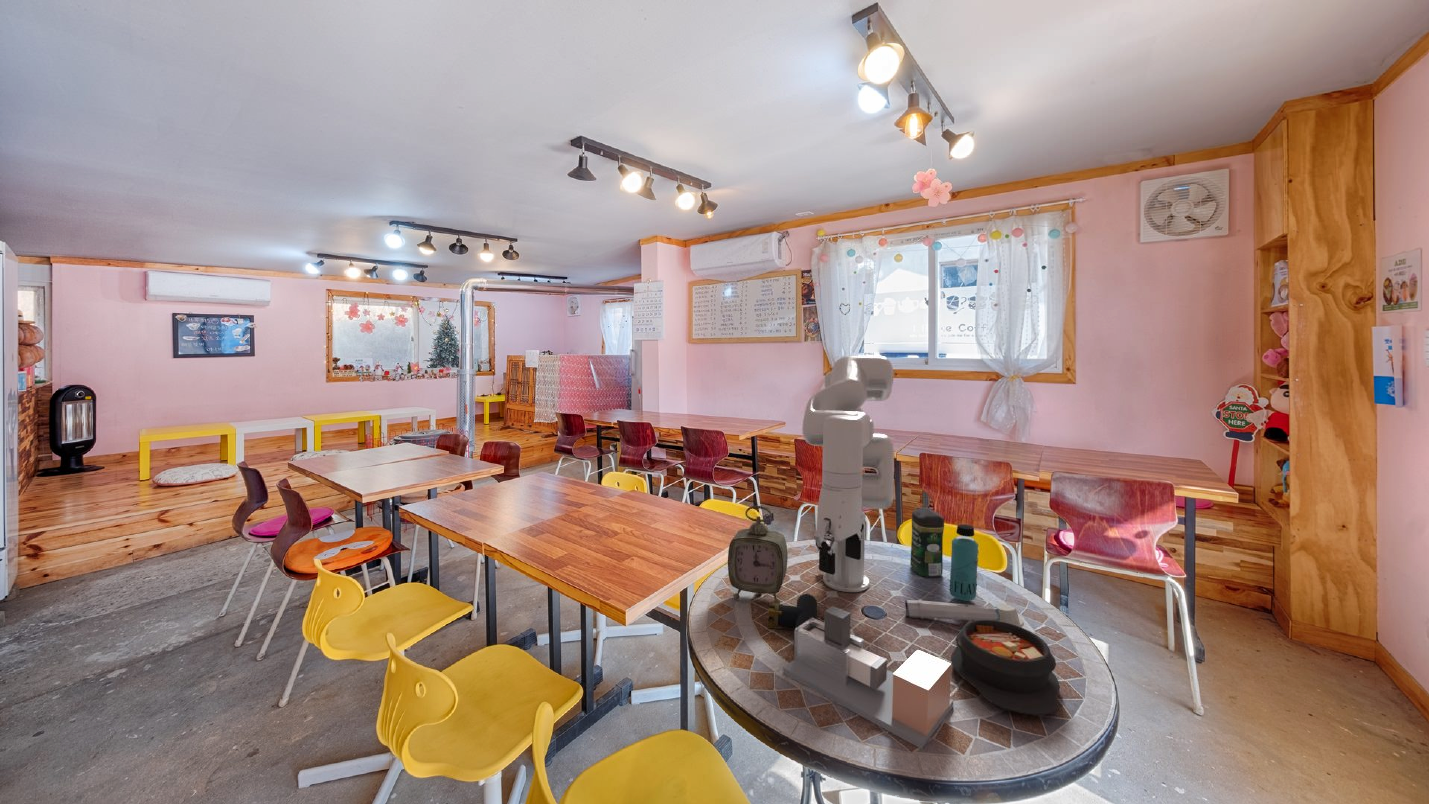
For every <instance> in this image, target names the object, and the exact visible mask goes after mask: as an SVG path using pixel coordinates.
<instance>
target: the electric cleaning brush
mask: <svg viewBox="0 0 1429 804" xmlns="http://www.w3.org/2000/svg"><path fill="white" fill-rule="evenodd" d="M904 606H905V607H904V608H905V614H906V617H907V618H913V619H921V620H924V619H936V620H960V621H963V620H964V621H976V620H994V621H1001V622H1005V623H1009V624H1013V625H1016V626H1019V627H1021V628H1023V626H1025V622H1024V620H1023V619H1022V618H1021V617H1019V614H1018V610H1017V608H1016V607H1015V606H1014V605H1011V604H998V605H997V606H990V605H989V606H987V605H979V604H978V605H976V604H966V603H965V604H964V603H952V602H951V603H950V602H942V601H933V600H932V601H928V600H922V599H921V598H919V599H917V600H916V599H915V600H913V599H905V600H904Z"/></svg>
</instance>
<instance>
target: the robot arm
mask: <svg viewBox="0 0 1429 804" xmlns="http://www.w3.org/2000/svg"><path fill="white" fill-rule="evenodd" d="M891 362H892V361H890V360H889V358H887V357H886V356H882V355H848V356H847V355H846V356H843V357H840V358H838V359H837V360H836V361H835V362H834V364H833V366H832V368H831V369H832V370H831V371H828V372H827V373H826V375H825V376H824V388H823V389H821V390H820V391H817V392H816V393H815V394H813V395H812V396H811V397H810V399H809V400H808V401H807V404H806V407H805V411H804V415H803V419H802V436H803V439H804V441H805V442H806V443H807V444H809V445H811V446H816V447H822V473H821V474H822V475H821V476H822V479H821V480H822V481H821V486H822V487H821V488H820V492H819V496H818V497H819V498H818V502H817V503H818V504H817V514H816V515H817V516H816V530H815V531H814V532H813V538H814V541H815V546H816V548H817V551H818V565H817V568H818V569H819V571H820V572H823V573H824V574H823V578H822V579H823V583H824V584H825V585H826V586H827V587H828V588H830V589H833V590H834V591H839V592H845V593H858V592H859V593H860V592H863V591H865V590H868V589H869V588H870V579H869V577H867V575H866V574H865V549H866V548H865V546H866V545H865V544H866V543H865V539H866V523H865V522H866V521H865V520H866V514H865V513H863V509H873V510H887V509H889V508H891V506H892V505H893V503H894V491H895V490H894V488H895V487H894V486H895V484H894V481H895V478H894V477H895V474H894V472H895V453H894V452H895V451H894V444H893V440H892V439H891V437H890V436H888V435H886V434H883V433H874V432H875V427H874V426H875V425H874V421H873V419H872V418H871V417H870V415H869V414H868V413H866V412H865V411H864V410H863V409H862V406H863V405H864V403H865V402H883V401H886V400H888V399H889V398H890V396H891V393H892V389H893V383H894V377H895V376H894V375H895V374H894V367H893V365H892V363H891ZM863 469H873V470H875V471H876V473H870V472H869V473H868V472H863ZM827 541H829V544H828V543H827Z"/></svg>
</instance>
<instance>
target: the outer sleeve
mask: <svg viewBox="0 0 1429 804" xmlns="http://www.w3.org/2000/svg"><path fill="white" fill-rule="evenodd" d="M824 625H825V621H824V622H823V621H821V620H819V619H818V620H817V619H815V618H811V619H809V620H808V621H806V622H805V623H803V624H802V625H800V626H799V627H797V628H795V629H794V649H793V650H794V651H793V652H794V653H793V654H794V655H793V656H794V657H793V658H794V659H793V660H796V661H798V662H800V663H802V664H804V665H806V666H808V667H810V668H812V669H814V670H816V671H818V672H820V673H822V674H824V675H825V676H827V677H829V678H831V679H833V680H835V681H837V682H839V683H841V684H843V685H845V686H847V685H848V684H849V683H850V682H851V681H852V680H853V679H854V678H852V677H850V676H848V670H849V655H850V650H849V649H846V648H844V647H842V646H840V645H838V644H835V643H833V642H831V641H829V640H827V639H824V638H822V637H820V636H818V635H816V634H813V633H811V632H809V631H811V630H812V629H814V628H817V629H819V630H821V631H824ZM850 643H851V644H853V645H855V646H857V647H860V648H862V649H864V639H863V638H862V637H859V636H857V635H854V634H851V633H850Z"/></svg>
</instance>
